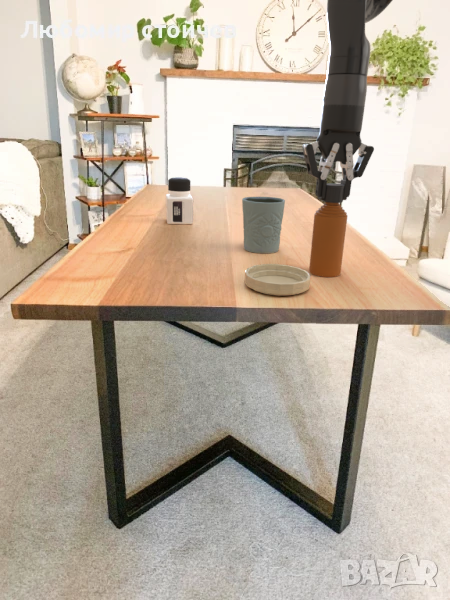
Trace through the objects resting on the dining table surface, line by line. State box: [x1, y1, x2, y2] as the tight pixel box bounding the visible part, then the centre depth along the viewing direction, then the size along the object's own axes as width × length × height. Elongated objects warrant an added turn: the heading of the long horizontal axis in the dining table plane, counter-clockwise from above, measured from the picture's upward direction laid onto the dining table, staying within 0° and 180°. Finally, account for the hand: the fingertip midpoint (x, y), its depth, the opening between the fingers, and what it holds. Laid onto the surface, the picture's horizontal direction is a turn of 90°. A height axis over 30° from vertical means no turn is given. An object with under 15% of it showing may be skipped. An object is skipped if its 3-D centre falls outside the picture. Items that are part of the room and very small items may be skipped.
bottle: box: [308, 202, 348, 278], centre depth 89 cm, size 6×6×17 cm
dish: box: [244, 263, 312, 297], centre depth 83 cm, size 12×12×2 cm
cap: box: [321, 182, 345, 204], centre depth 86 cm, size 4×4×3 cm
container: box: [165, 176, 194, 225], centre depth 133 cm, size 8×8×13 cm
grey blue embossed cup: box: [241, 196, 286, 254], centre depth 106 cm, size 10×10×12 cm
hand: (332, 198), depth 87 cm, fingers closed on cap, 4 cm apart
